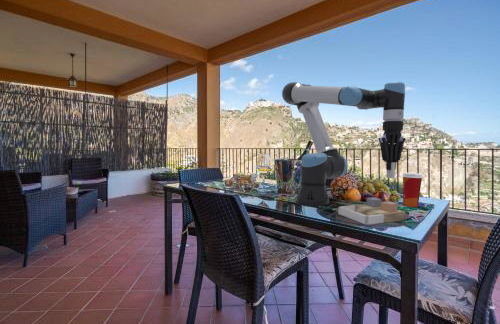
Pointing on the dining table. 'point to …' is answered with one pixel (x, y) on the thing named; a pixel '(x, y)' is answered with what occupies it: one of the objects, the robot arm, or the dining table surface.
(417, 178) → the coffee cup
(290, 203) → the dining table surface
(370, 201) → the tile grey
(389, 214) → the board
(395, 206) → the tan block
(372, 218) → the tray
